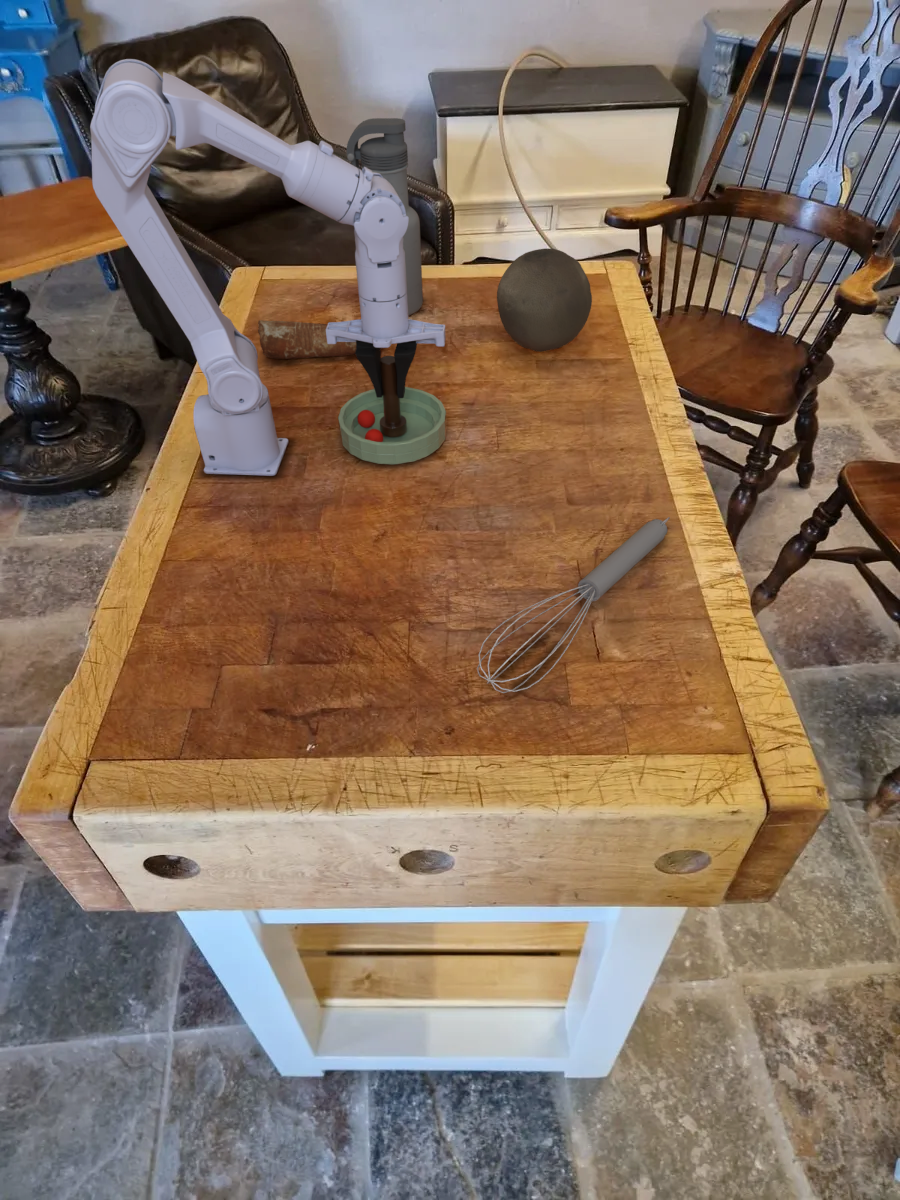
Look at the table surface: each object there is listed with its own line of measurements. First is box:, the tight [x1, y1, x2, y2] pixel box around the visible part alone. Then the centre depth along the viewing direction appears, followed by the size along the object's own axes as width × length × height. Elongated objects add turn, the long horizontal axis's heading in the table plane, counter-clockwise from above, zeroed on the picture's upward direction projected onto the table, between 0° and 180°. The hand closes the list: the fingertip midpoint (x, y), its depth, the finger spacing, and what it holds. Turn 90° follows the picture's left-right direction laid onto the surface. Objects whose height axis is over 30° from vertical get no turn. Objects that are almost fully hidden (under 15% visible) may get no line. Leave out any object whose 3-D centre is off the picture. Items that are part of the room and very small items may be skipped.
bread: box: [257, 319, 383, 360], centre depth 123 cm, size 6×19×6 cm, turn 92°
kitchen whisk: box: [476, 516, 671, 694], centre depth 83 cm, size 6×34×6 cm, turn 140°
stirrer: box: [380, 355, 407, 437], centre depth 104 cm, size 4×4×10 cm
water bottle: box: [346, 117, 424, 317], centre depth 126 cm, size 10×10×28 cm
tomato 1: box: [357, 410, 375, 428], centre depth 109 cm, size 2×2×2 cm
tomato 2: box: [365, 429, 383, 442], centre depth 105 cm, size 2×2×2 cm
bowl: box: [337, 386, 447, 465], centre depth 107 cm, size 14×14×4 cm
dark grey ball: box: [496, 248, 593, 353], centre depth 120 cm, size 14×14×15 cm
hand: (390, 393), depth 104 cm, fingers closed on stirrer, 2 cm apart
